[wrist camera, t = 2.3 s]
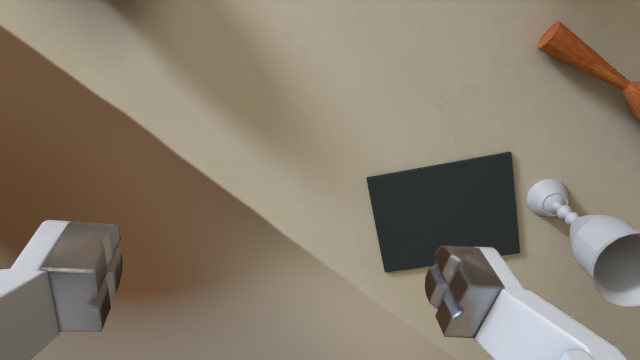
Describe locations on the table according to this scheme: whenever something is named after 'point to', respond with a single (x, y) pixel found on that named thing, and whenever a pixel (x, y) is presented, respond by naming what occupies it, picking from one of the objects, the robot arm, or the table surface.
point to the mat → (444, 210)
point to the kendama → (587, 61)
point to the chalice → (595, 243)
